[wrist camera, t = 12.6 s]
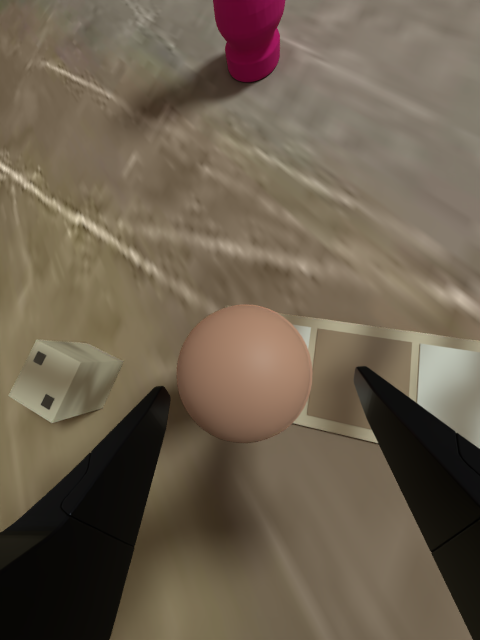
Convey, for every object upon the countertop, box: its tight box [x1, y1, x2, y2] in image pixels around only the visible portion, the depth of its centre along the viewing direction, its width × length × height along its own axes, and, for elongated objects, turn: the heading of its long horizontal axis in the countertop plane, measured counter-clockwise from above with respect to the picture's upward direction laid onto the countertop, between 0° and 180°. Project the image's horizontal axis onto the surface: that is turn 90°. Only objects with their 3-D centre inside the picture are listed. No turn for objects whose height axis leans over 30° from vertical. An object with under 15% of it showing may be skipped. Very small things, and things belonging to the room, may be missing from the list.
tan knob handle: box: [177, 305, 313, 443], centre depth 12 cm, size 6×6×14 cm
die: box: [9, 340, 124, 423], centre depth 20 cm, size 5×5×5 cm
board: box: [226, 306, 480, 449], centre depth 18 cm, size 25×9×1 cm, turn 80°
